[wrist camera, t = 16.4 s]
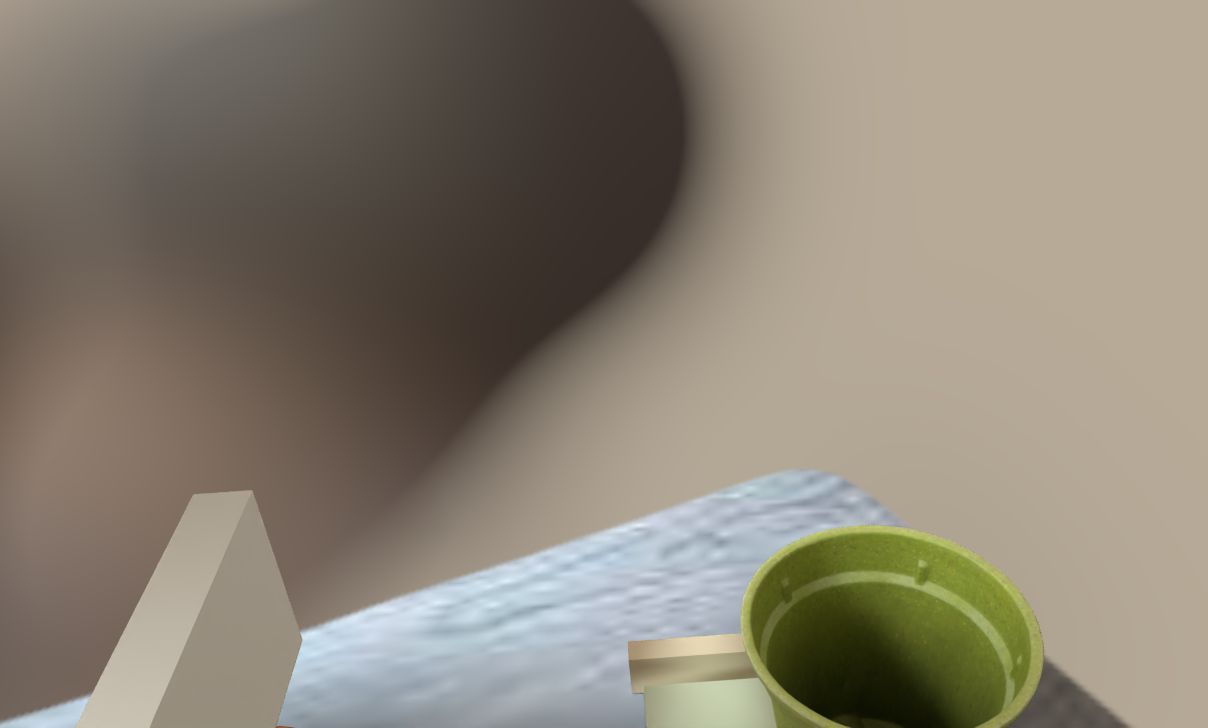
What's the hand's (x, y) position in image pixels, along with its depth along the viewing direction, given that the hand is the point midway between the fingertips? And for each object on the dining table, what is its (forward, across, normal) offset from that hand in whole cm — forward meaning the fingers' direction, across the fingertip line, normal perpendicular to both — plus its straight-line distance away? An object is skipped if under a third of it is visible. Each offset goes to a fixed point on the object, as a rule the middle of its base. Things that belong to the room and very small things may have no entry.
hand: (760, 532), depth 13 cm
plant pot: (+13, +6, -25) cm, 28 cm away
